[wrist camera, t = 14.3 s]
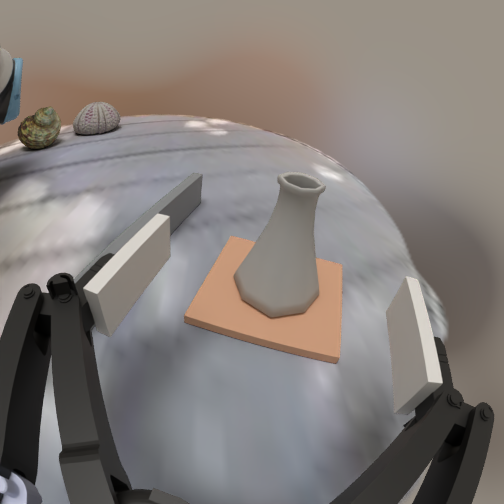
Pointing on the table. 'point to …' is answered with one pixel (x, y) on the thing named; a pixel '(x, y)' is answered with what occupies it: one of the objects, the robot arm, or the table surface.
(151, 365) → the table surface
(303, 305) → the flask
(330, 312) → the terracotta tile
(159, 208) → the low wall
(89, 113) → the sea urchin shell
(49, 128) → the seashell
